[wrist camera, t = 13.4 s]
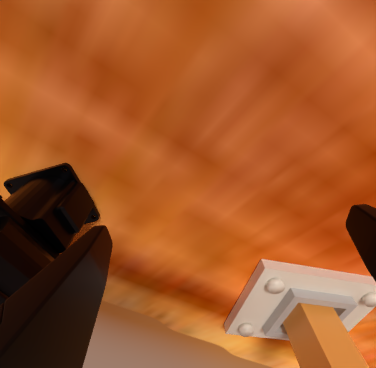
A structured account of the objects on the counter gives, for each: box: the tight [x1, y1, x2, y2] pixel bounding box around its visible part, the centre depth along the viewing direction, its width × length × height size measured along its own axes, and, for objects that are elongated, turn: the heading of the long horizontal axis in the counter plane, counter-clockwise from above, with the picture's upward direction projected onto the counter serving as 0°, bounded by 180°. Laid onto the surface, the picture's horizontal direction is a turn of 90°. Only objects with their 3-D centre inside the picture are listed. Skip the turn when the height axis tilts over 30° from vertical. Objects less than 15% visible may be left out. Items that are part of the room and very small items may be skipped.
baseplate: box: [224, 259, 376, 340], centre depth 31 cm, size 18×14×3 cm
